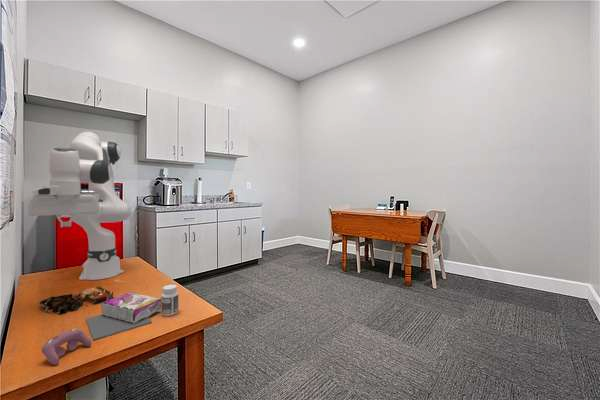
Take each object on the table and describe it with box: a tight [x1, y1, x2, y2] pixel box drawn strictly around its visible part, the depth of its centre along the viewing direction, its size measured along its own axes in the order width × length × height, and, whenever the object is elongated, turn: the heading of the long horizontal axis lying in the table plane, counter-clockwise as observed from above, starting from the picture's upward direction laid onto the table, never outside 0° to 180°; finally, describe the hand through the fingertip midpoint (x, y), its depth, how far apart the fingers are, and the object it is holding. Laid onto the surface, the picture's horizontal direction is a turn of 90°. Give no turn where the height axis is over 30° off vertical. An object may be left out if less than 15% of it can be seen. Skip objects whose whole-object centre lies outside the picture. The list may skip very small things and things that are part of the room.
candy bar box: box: [101, 292, 161, 324], centre depth 97 cm, size 11×5×16 cm
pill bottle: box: [160, 284, 179, 317], centre depth 98 cm, size 6×6×10 cm
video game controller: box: [41, 328, 92, 366], centre depth 73 cm, size 10×5×7 cm, turn 165°
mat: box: [85, 313, 153, 341], centre depth 91 cm, size 18×16×1 cm
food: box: [38, 286, 114, 315], centre depth 107 cm, size 22×19×4 cm
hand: (65, 226), depth 101 cm, fingers closed
